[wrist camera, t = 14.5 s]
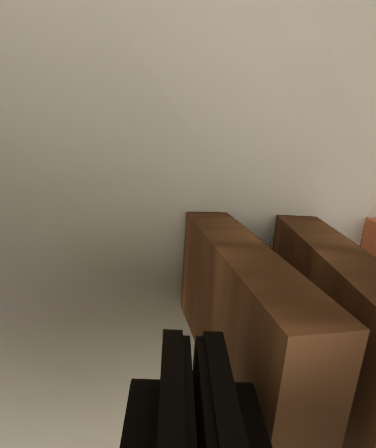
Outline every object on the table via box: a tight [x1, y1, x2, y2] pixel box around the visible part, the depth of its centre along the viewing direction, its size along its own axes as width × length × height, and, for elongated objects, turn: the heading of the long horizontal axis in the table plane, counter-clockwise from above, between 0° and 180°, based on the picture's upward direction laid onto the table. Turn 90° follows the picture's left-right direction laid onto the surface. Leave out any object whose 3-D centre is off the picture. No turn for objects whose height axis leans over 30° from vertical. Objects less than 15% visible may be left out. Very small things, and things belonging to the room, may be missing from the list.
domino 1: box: [181, 212, 370, 448], centre depth 13 cm, size 2×5×10 cm, turn 177°
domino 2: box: [272, 215, 376, 448], centre depth 13 cm, size 2×5×10 cm, turn 177°
